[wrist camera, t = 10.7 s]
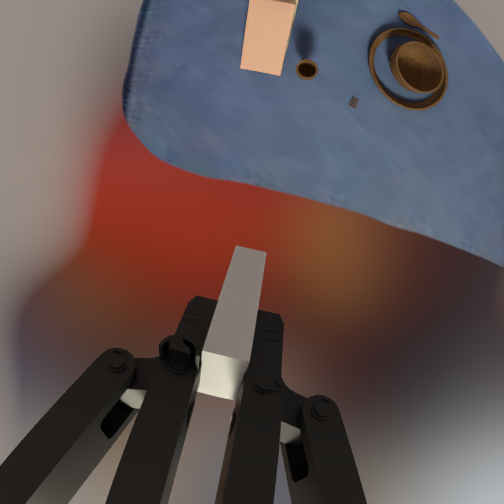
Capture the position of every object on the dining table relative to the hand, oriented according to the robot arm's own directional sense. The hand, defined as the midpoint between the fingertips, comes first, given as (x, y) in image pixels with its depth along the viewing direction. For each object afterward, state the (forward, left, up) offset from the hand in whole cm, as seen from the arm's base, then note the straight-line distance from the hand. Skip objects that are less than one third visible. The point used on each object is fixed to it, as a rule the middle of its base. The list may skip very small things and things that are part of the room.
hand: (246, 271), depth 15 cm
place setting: (-11, -18, -27) cm, 35 cm away
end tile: (+4, -12, -26) cm, 28 cm away
